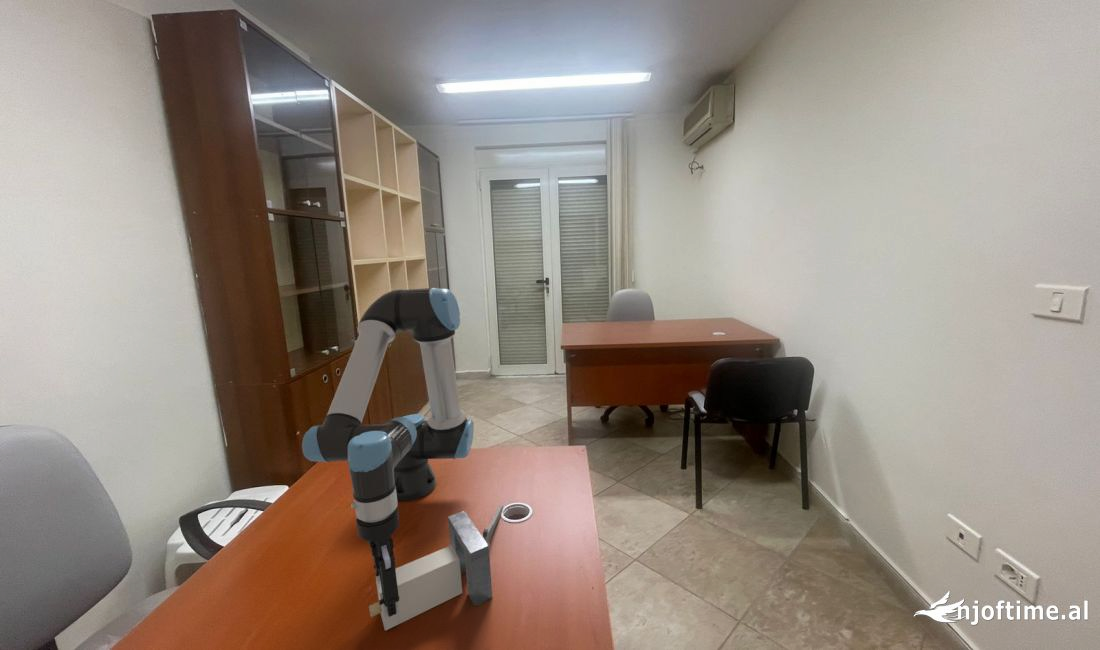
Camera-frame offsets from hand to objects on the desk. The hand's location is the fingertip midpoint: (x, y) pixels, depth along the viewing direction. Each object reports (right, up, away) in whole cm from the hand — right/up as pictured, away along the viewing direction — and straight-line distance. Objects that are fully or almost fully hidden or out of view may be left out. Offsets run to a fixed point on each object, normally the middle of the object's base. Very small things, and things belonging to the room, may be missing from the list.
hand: (390, 614), depth 83 cm
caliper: (+18, +4, +26) cm, 32 cm away
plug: (+5, 0, +4) cm, 7 cm away
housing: (+15, +1, +9) cm, 18 cm away
